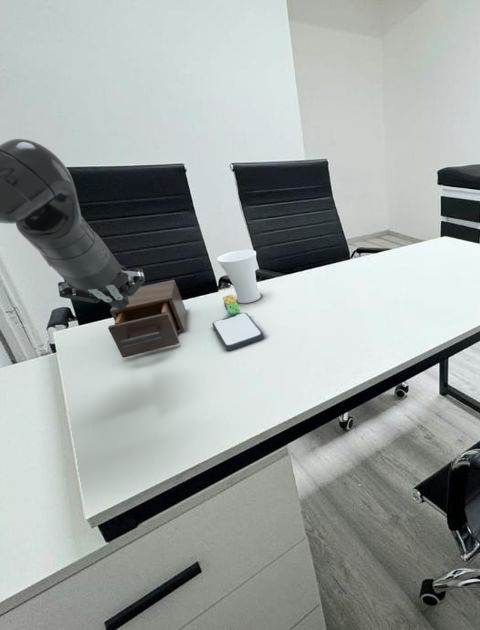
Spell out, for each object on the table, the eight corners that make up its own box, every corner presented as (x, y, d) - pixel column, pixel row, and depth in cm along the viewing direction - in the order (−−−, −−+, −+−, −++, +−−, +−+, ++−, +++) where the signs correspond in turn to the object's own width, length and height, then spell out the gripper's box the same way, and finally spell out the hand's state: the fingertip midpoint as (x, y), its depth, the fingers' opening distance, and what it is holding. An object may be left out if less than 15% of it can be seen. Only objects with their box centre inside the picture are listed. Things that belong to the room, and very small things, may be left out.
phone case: (266, 339, 92) (247, 316, 104) (264, 333, 92) (246, 311, 103) (227, 353, 88) (212, 327, 100) (225, 347, 87) (210, 322, 99)
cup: (270, 300, 113) (258, 256, 107) (232, 309, 109) (217, 264, 103) (264, 289, 121) (253, 247, 115) (228, 297, 117) (215, 254, 111)
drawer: (178, 351, 88) (166, 321, 84) (119, 367, 83) (103, 336, 80) (181, 321, 102) (171, 294, 99) (131, 333, 98) (118, 305, 94)
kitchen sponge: (226, 312, 107) (220, 291, 104) (236, 309, 109) (230, 288, 106) (232, 322, 101) (224, 300, 98) (242, 319, 102) (235, 298, 100)
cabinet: (184, 331, 99) (171, 297, 94) (126, 346, 94) (109, 310, 89) (186, 310, 110) (174, 279, 106) (134, 322, 106) (120, 290, 101)
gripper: (126, 229, 64) (157, 280, 79) (23, 243, 59) (77, 295, 74) (133, 267, 62) (164, 312, 77) (27, 285, 57) (82, 330, 72)
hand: (121, 304), depth 76 cm, fingers closed
